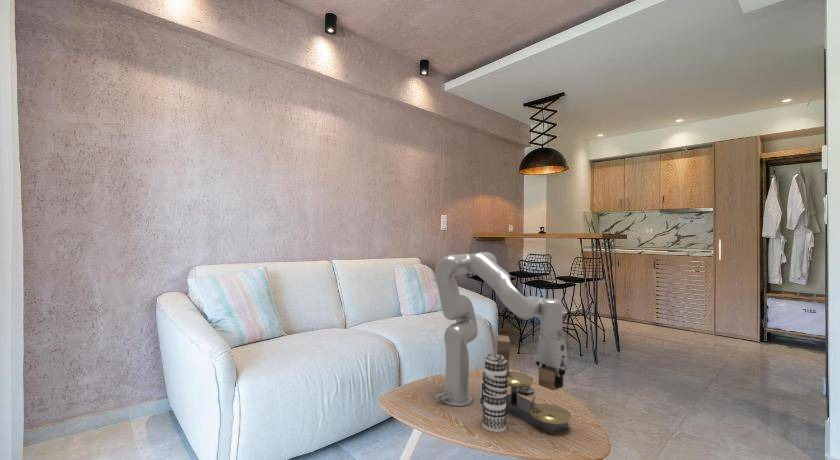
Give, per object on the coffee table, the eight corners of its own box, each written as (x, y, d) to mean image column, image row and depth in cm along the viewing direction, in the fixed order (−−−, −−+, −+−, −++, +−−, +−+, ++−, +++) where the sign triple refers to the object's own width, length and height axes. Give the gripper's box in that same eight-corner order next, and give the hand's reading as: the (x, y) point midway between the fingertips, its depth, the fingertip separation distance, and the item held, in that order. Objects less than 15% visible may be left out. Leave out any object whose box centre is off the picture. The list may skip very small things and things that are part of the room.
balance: (553, 440, 128) (554, 404, 128) (488, 405, 153) (489, 375, 154) (578, 429, 135) (579, 395, 136) (512, 398, 161) (513, 369, 161)
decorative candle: (509, 423, 139) (511, 353, 140) (504, 434, 131) (506, 361, 131) (485, 417, 143) (486, 350, 143) (478, 428, 134) (480, 357, 135)
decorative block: (509, 385, 175) (510, 341, 175) (496, 384, 176) (497, 340, 177) (508, 376, 186) (509, 335, 186) (496, 375, 187) (497, 334, 187)
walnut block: (552, 390, 133) (552, 373, 134) (538, 384, 138) (538, 368, 139) (563, 387, 137) (563, 370, 137) (549, 381, 142) (549, 365, 142)
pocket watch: (532, 389, 171) (532, 366, 171) (536, 396, 163) (536, 373, 163) (513, 388, 172) (514, 365, 172) (516, 395, 164) (517, 372, 164)
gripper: (578, 337, 133) (578, 389, 132) (538, 327, 147) (538, 374, 147) (565, 340, 129) (565, 394, 128) (525, 330, 143) (525, 378, 143)
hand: (550, 383), depth 138 cm, fingers closed on walnut block, 6 cm apart
